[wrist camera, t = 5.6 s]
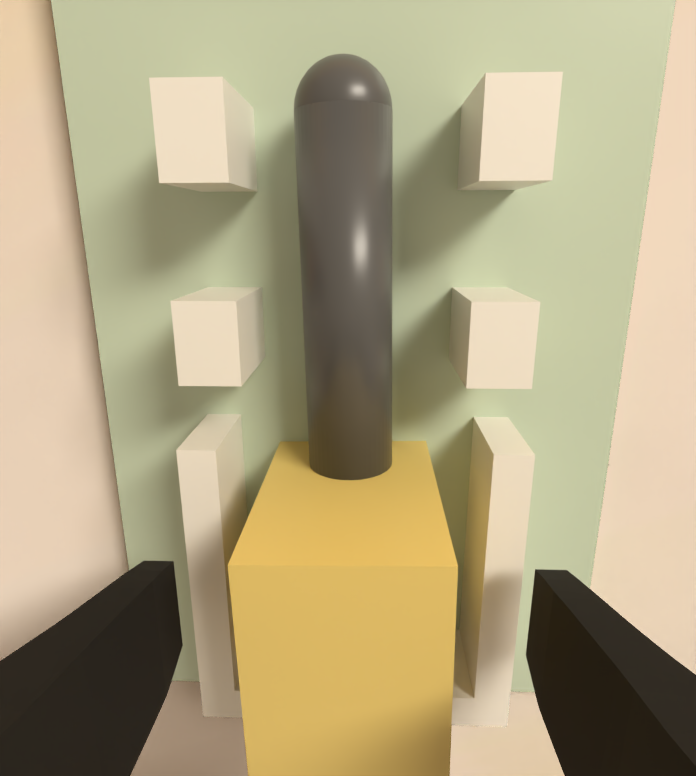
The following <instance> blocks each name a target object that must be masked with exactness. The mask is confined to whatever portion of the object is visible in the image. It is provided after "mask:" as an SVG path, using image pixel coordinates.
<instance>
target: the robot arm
mask: <svg viewBox="0 0 696 776" xmlns="http://www.w3.org/2000/svg"><path fill="white" fill-rule="evenodd" d="M182 646H183V643H182V634H181V624H180V615H179V606H178V597H177V588H176V579H175V569H174V561H143V562H141V563H140V564H138V565H136V566H135V567H134V568H132V569H131V570H129V571H128V572H126V573H125V574H124V575H122V576H121V577H120V578H118V579H117V580H115V581H114V582H113V583H111V584H110V585H109V586H107V587H106V588H105V589H103V590H102V591H101V592H99V593H98V594H97V595H95V596H94V597H92V598H91V599H90V600H88V601H87V602H86V603H84V604H83V605H81V606H80V607H79V608H77V609H76V610H75V611H73V612H72V613H70V614H69V615H68V616H66V617H65V618H63V619H62V620H61V621H59V622H58V623H56V624H55V625H54V626H52V627H51V628H49V629H48V630H46V631H45V632H43V633H42V634H40V635H39V636H37V637H36V638H34V639H33V640H31V641H30V642H28V643H27V644H25V645H24V646H22V647H21V648H19V649H18V650H16V651H15V652H13V653H12V654H10V655H9V656H7V657H6V658H4V659H3V660H1V661H0V776H130V775H131V772H132V770H133V768H134V766H135V764H136V762H137V760H138V757H139V755H140V753H141V751H142V749H143V747H144V744H145V742H146V740H147V738H148V736H149V734H150V731H151V729H152V727H153V725H154V723H155V720H156V718H157V716H158V714H159V712H160V709H161V707H162V705H163V703H164V700H165V698H166V696H167V693H168V690H169V687H170V684H171V681H172V678H173V675H174V672H175V669H176V665H177V662H178V659H179V656H180V652H181V649H182ZM526 658H527V662H528V666H529V671H530V675H531V679H532V683H533V687H534V691H535V694H536V698H537V702H538V706H539V709H540V712H541V714H542V717H543V720H544V723H545V725H546V728H547V730H548V733H549V736H550V738H551V741H552V744H553V746H554V749H555V752H556V754H557V757H558V759H559V762H560V765H561V767H562V770H563V772H564V775H565V776H696V675H695V674H694V673H692V672H691V671H690V670H688V669H687V668H686V667H684V666H683V665H682V664H680V663H679V662H678V661H676V660H675V659H674V658H673V657H671V656H670V655H669V654H667V653H666V652H665V651H664V650H662V649H661V648H660V647H659V646H657V645H656V644H655V643H654V642H652V641H651V640H650V639H649V638H647V637H646V636H645V635H644V634H642V633H641V632H640V631H639V630H638V629H636V628H635V627H634V626H633V625H632V624H630V623H629V622H628V621H627V620H626V619H624V618H623V617H622V616H621V615H620V614H618V613H617V612H616V611H615V610H614V609H613V608H611V607H610V606H609V605H608V604H607V603H606V602H604V601H603V600H602V599H601V598H600V597H599V596H597V595H596V594H595V593H594V592H593V591H592V590H590V589H589V588H588V587H587V586H586V585H585V584H583V583H582V582H581V581H580V580H579V579H578V578H576V577H575V576H574V575H573V574H571V573H570V572H569V571H568V570H546V569H535V575H534V585H533V594H532V603H531V612H530V621H529V630H528V639H527V648H526Z"/></svg>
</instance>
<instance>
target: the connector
mask: <svg viewBox="0 0 696 776" xmlns="http://www.w3.org/2000/svg"><path fill="white" fill-rule="evenodd" d="M294 132H295V153H296V175H297V197H298V219H299V241H300V263H301V285H302V307H303V329H304V351H305V373H306V394H307V416H308V438H309V441H280V443H279V446H278V448H277V450H276V453H275V455H274V457H273V460H272V462H271V464H270V467H269V469H268V472H267V474H266V476H265V479H264V481H263V483H262V486H261V488H260V490H259V493H258V495H257V497H256V500H255V502H254V504H253V507H252V509H251V511H250V514H249V516H248V519H247V521H246V523H245V526H244V528H243V530H242V533H241V535H240V537H239V540H238V542H237V544H236V547H235V549H234V551H233V554H232V556H231V558H230V561H229V563H228V574H229V585H230V595H231V605H232V615H233V625H234V636H235V646H236V656H237V666H238V676H239V686H240V697H241V707H242V717H243V727H244V737H245V748H246V758H247V768H248V776H449V774H450V750H451V726H452V701H453V677H454V653H455V629H456V605H457V581H458V564H457V560H456V557H455V553H454V549H453V545H452V541H451V537H450V533H449V529H448V525H447V521H446V517H445V513H444V509H443V506H442V502H441V498H440V494H439V490H438V486H437V482H436V478H435V474H434V470H433V466H432V462H431V458H430V455H429V451H428V447H427V443H426V441H392V180H393V109H392V99H391V95H390V91H389V88H388V85H387V83H386V81H385V79H384V77H383V76H382V74H381V73H380V72H379V71H378V69H377V68H376V67H374V66H373V65H372V64H371V63H370V62H369V61H367V60H365V59H363V58H361V57H359V56H356V55H352V54H334V55H330V56H327V57H325V58H323V59H321V60H319V61H317V62H316V63H315V64H314V65H312V66H311V67H310V68H309V69H308V70H307V72H306V73H305V75H304V76H303V77H302V79H301V81H300V83H299V85H298V88H297V90H296V94H295V99H294Z"/></svg>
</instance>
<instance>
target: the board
mask: <svg viewBox="0 0 696 776" xmlns="http://www.w3.org/2000/svg"><path fill="white" fill-rule="evenodd" d="M675 2H676V0H51V4H52V12H53V19H54V26H55V33H56V41H57V48H58V55H59V63H60V70H61V77H62V85H63V92H64V99H65V106H66V114H67V121H68V128H69V136H70V143H71V150H72V158H73V165H74V172H75V179H76V187H77V194H78V201H79V209H80V216H81V223H82V231H83V238H84V245H85V252H86V260H87V267H88V274H89V282H90V289H91V296H92V304H93V311H94V318H95V325H96V333H97V340H98V347H99V355H100V362H101V369H102V377H103V384H104V391H105V398H106V406H107V413H108V420H109V428H110V435H111V442H112V450H113V457H114V464H115V471H116V479H117V486H118V493H119V501H120V508H121V515H122V522H123V530H124V537H125V544H126V552H127V559H128V566H129V570H131V569H132V568H134V567H135V566H136V565H138V564H140V563H141V562H143V561H174V569H175V579H176V588H177V597H178V606H179V615H180V624H181V634H182V643H183V646H182V649H181V652H180V656H179V659H178V662H177V665H176V669H175V672H174V675H173V678H172V681H196V682H200V692H201V701H202V711H203V717H224V718H243V717H242V707H241V697H240V686H239V676H238V666H237V656H236V646H235V636H234V625H233V615H232V605H231V595H230V585H229V574H228V563H229V561H230V558H231V556H232V554H233V551H234V549H235V547H236V544H237V542H238V540H239V537H240V535H241V533H242V530H243V528H244V526H245V523H246V521H247V519H248V516H249V514H250V511H251V509H252V507H253V504H254V502H255V500H256V497H257V495H258V493H259V490H260V488H261V486H262V483H263V481H264V479H265V476H266V474H267V472H268V469H269V467H270V464H271V462H272V460H273V457H274V455H275V453H276V450H277V448H278V446H279V443H280V441H309V438H308V416H307V394H306V373H305V351H304V329H303V307H302V285H301V263H300V241H299V219H298V197H297V175H296V153H295V132H294V99H295V94H296V90H297V88H298V85H299V83H300V81H301V79H302V77H303V76H304V75H305V73H306V72H307V70H308V69H309V68H310V67H311V66H312V65H314V64H315V63H316V62H317V61H319V60H321V59H323V58H325V57H327V56H330V55H334V54H352V55H356V56H359V57H361V58H363V59H365V60H367V61H369V62H370V63H371V64H372V65H373V66H374V67H376V68H377V69H378V71H379V72H380V73H381V74H382V76H383V77H384V79H385V81H386V83H387V85H388V88H389V91H390V95H391V99H392V109H393V180H392V441H426V443H427V447H428V451H429V455H430V458H431V462H432V466H433V470H434V474H435V478H436V482H437V486H438V490H439V494H440V498H441V502H442V506H443V509H444V513H445V517H446V521H447V525H448V529H449V533H450V537H451V541H452V545H453V549H454V553H455V557H456V560H457V564H458V581H457V605H456V629H455V653H454V677H453V701H452V725H459V726H488V727H507V724H508V714H509V704H510V695H511V691H515V692H535V691H534V687H533V683H532V679H531V675H530V671H529V666H528V662H527V658H526V648H527V639H528V630H529V621H530V612H531V603H532V594H533V585H534V575H535V569H546V570H568V571H569V572H570V573H571V574H573V575H574V576H575V577H576V578H578V579H579V580H580V581H581V582H582V583H583V584H585V585H586V586H587V587H588V588H589V589H590V585H591V578H592V571H593V564H594V558H595V551H596V544H597V537H598V530H599V523H600V516H601V509H602V503H603V496H604V489H605V482H606V475H607V468H608V461H609V455H610V448H611V441H612V434H613V427H614V420H615V413H616V406H617V400H618V393H619V386H620V379H621V372H622V365H623V358H624V352H625V345H626V338H627V331H628V324H629V317H630V310H631V304H632V297H633V290H634V283H635V276H636V269H637V262H638V255H639V249H640V242H641V235H642V228H643V221H644V214H645V207H646V201H647V194H648V187H649V180H650V173H651V166H652V159H653V153H654V146H655V139H656V132H657V125H658V118H659V111H660V104H661V98H662V91H663V84H664V77H665V70H666V63H667V56H668V50H669V43H670V36H671V29H672V22H673V15H674V8H675Z"/></svg>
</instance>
